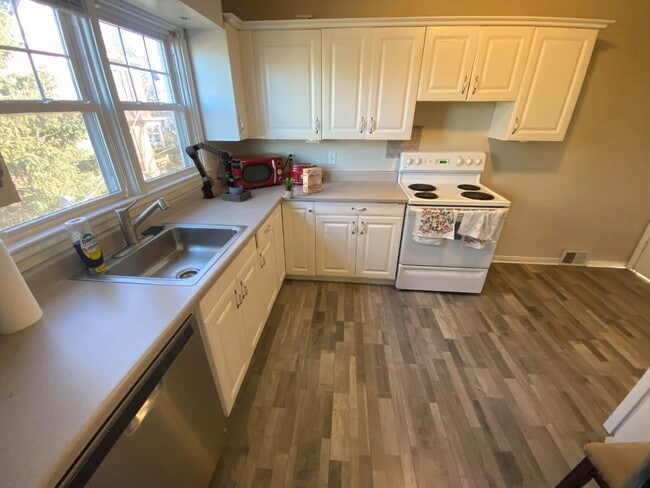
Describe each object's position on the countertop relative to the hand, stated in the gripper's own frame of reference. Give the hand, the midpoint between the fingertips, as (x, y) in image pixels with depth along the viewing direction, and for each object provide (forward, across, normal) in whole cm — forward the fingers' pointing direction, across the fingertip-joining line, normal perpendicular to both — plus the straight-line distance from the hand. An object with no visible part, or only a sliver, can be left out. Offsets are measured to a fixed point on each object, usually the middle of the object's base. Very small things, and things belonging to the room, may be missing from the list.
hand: (230, 189), depth 216 cm
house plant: (+7, +43, +14) cm, 46 cm away
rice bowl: (+2, +5, 0) cm, 5 cm away
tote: (+6, +5, 0) cm, 8 cm away
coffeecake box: (+6, +53, +40) cm, 67 cm away
